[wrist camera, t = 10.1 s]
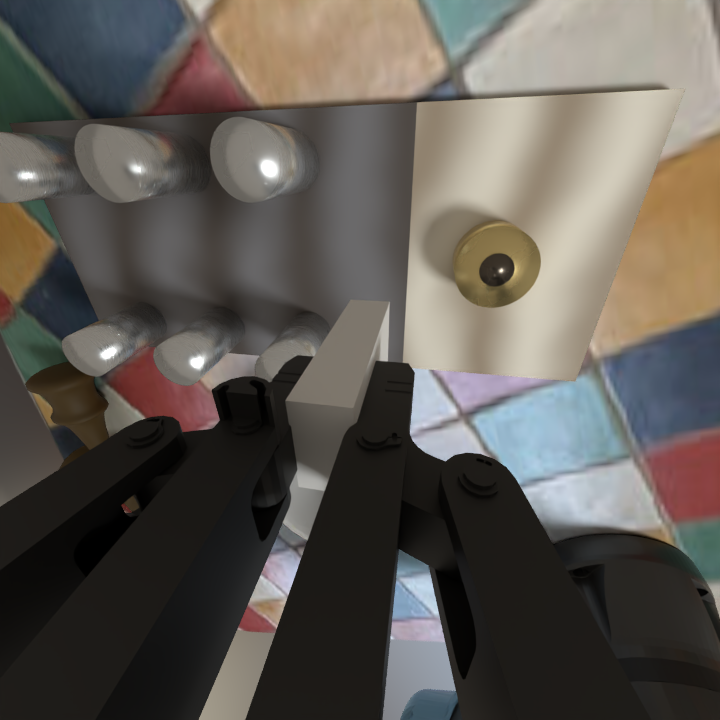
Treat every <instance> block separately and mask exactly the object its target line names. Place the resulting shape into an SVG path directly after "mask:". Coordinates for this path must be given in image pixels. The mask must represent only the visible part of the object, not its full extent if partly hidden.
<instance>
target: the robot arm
mask: <svg viewBox="0 0 720 720" xmlns="http://www.w3.org/2000/svg"><path fill="white" fill-rule="evenodd" d="M389 306H390V302H388V301H368V300H350V302H349V303H348V305H347V306H346V308H345V309H344V311H343V312H342V314H341V315H340V317H339V319H338V320H337V322H336V323H335V325H334V326H333V328H332V329H331V331H330V332H329V334H328V335H327V337H326V339H325V340H324V342H323V343H322V345H321V346H320V348H319V349H318V351H317V352H316V354H315V356H302V355H297V356H295V357H294V358H292V359H290V360H289V361H287V362H285V364H284V365H283V366H282V367H281V369H280V370H279V371H278V374H276V375H275V376H274V378H273V379H272V382H268V381H267V380H265V379H263V378H259V377H255V376H252V377H239V378H235V379H231V380H228V381H226V382H223V383H221V384H219V385H218V386H217V387H215V388H214V389H212V394H213V397H214V401H215V404H216V408H217V411H218V415H219V418H220V421H219V422H218V424H217V425H216V426H215V427H214V428H213V429H208V430H199V431H190V432H182V429H181V426H180V424H179V421H177V420H176V419H174V418H173V417H167V416H157V417H150V418H147V419H143V420H140V421H137V422H136V423H134V424H132V425H130V426H128V427H126V428H124V429H123V430H121V431H119V432H118V433H116V434H115V435H113V436H111V437H110V438H108V439H107V440H105V441H104V442H102V443H100V444H99V445H97V446H96V447H94V448H92V449H91V450H89V451H88V452H86V453H85V454H83V455H81V456H80V457H78V458H77V459H75V460H73V461H72V462H70V463H69V464H67V465H66V466H64V467H62V468H61V469H59V470H58V471H56V472H54V473H53V474H52V475H50V476H48V477H47V478H45V479H43V480H42V481H40V482H39V483H37V484H35V485H34V486H32V487H31V488H29V489H28V490H26V491H24V492H23V493H21V494H20V495H18V496H16V497H15V498H13V499H12V500H10V501H9V502H7V503H5V504H4V505H2V506H1V507H0V720H199V717H200V715H201V713H202V710H203V708H204V706H205V703H206V701H207V699H208V696H209V694H210V691H211V689H212V687H213V685H214V682H215V680H216V677H217V675H218V673H219V671H220V668H221V666H222V663H223V661H224V659H225V656H226V654H227V652H228V649H229V647H230V645H231V642H232V640H233V638H234V635H235V633H236V631H237V628H238V626H239V624H240V621H241V619H242V617H243V614H244V612H245V610H246V607H247V605H248V603H249V600H250V598H251V596H252V593H253V591H254V589H255V586H256V584H257V582H258V579H259V577H260V575H261V572H262V570H263V568H264V565H265V563H266V561H267V558H268V556H269V554H270V551H271V549H272V547H273V544H274V542H275V540H276V537H277V535H278V533H279V530H280V528H281V526H282V523H283V521H284V519H285V516H286V514H287V512H288V509H289V507H290V503H291V492H290V485H291V483H292V481H293V479H294V476H295V474H296V473H297V479H298V486H299V487H302V488H309V489H315V490H321V491H324V494H323V497H322V500H321V503H320V506H319V509H318V512H317V515H316V517H315V520H314V523H313V526H312V529H311V532H310V535H309V538H308V541H307V543H306V546H305V549H304V552H303V555H302V558H301V561H300V564H299V567H298V569H297V572H296V575H295V578H294V581H293V584H292V587H291V590H290V593H289V595H288V598H287V601H286V604H285V607H284V610H283V613H282V616H281V619H280V621H279V624H278V627H277V630H276V633H275V636H274V639H273V642H272V645H271V647H270V650H269V653H268V656H267V659H266V662H265V665H264V668H263V671H262V674H261V676H260V679H259V682H258V685H257V688H256V691H255V694H254V697H253V699H252V702H251V705H250V708H249V711H248V714H247V717H246V720H382V717H383V707H384V697H385V686H386V676H387V666H388V656H389V644H390V635H391V625H392V615H393V604H394V594H395V584H396V573H397V563H398V553H399V549H400V550H402V551H404V552H405V553H407V554H409V555H411V556H413V557H414V558H416V559H418V560H420V561H422V562H424V563H425V564H427V565H429V569H430V574H431V578H432V583H433V588H434V592H435V597H436V601H437V606H438V610H439V615H440V620H441V624H442V629H443V633H444V638H445V643H446V647H447V651H448V656H449V661H450V665H451V669H452V674H453V679H454V684H455V688H456V691H447V690H446V691H445V690H432V689H423V690H421V691H418V692H417V693H415V694H414V695H413V696H412V697H411V698H410V700H409V701H408V703H407V705H406V707H405V709H404V711H403V713H402V716H401V719H400V720H720V618H719V614H718V611H717V608H716V605H715V600H714V597H713V594H712V592H711V589H710V588H709V586H708V584H707V583H706V581H705V579H704V578H703V576H702V575H701V573H700V572H699V570H698V569H697V567H696V566H695V564H694V563H693V561H692V560H691V559H690V558H689V557H688V556H686V555H685V554H684V553H682V552H681V551H679V550H677V549H675V548H674V547H671V546H669V545H667V544H664V543H661V542H658V541H655V540H651V539H647V538H642V537H636V536H628V535H593V536H585V537H579V538H574V539H570V540H566V541H563V542H560V543H557V544H555V545H553V544H552V542H551V541H550V539H549V537H548V535H547V533H546V532H545V530H544V528H543V526H542V525H541V523H540V521H539V519H538V518H537V516H536V514H535V512H534V510H533V509H532V507H531V505H530V503H529V502H528V500H527V498H526V496H525V494H524V493H523V491H522V489H521V487H520V486H519V484H518V482H517V480H516V478H515V477H514V476H513V475H512V474H511V472H510V471H509V470H508V469H507V467H505V466H504V465H502V464H501V463H499V462H498V461H496V460H495V459H493V458H490V457H487V456H484V455H482V454H474V453H463V454H458V455H454V456H453V457H451V458H450V459H448V460H447V461H446V462H445V461H443V460H440V459H438V458H435V457H433V456H431V455H429V454H427V453H425V452H424V451H422V450H421V449H420V448H418V447H417V446H416V444H415V443H414V442H413V441H412V439H411V436H410V423H411V413H412V400H413V387H414V374H415V373H414V371H413V369H412V368H411V366H410V365H409V363H400V362H388V339H389ZM132 496H134V498H135V500H136V502H137V504H138V506H139V508H138V509H136V510H135V511H133V512H131V513H125V512H124V510H123V508H122V506H121V505H122V504H123V503H124V502H126V501H127V500H128V499H129V498H131V497H132Z"/></svg>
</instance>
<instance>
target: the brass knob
mask: <svg viewBox="0 0 720 720" xmlns="http://www.w3.org/2000/svg"><path fill="white" fill-rule="evenodd" d="M540 267H541V256H540V252H539V249H538V247H537V245H536V243H535V242H534V240H533V239H532V238H531V237H530V236H529V235H527V234H526V233H525V232H524V231H522V230H521V229H520V228H518V227H517V226H516V225H514V224H512V223H509V222H506V221H501V220H492V221H487V222H483V223H481V224H478V225H476V226H475V227H473V228H471V229H470V230H469V231H468V232H467V233H465V234H464V236H463V237H462V238H461V239H460V241H459V242H458V244H457V246H456V248H455V251H454V255H453V270H454V275H455V281H456V284H457V287H458V289H459V291H460V293H461V294H462V295H463V296H464V297H465V298H466V299H467V300H468V301H469V302H471V303H473V304H475V305H478V306H481V307H487V308H496V307H502V306H506V305H509V304H511V303H513V302H515V301H517V300H519V299H520V298H521V297H523V296H524V295H525V294H526V293H527V292H528V291H529V290H530V289H531V288H532V286H533V285H534V283H535V281H536V280H537V277H538V275H539V272H540Z"/></svg>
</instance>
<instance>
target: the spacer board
mask: <svg viewBox="0 0 720 720" xmlns="http://www.w3.org/2000/svg"><path fill="white" fill-rule="evenodd" d="M684 91H685V89H668V90H648V91H629V92H609V93H590V94H570V95H551V96H531V97H512V98H493V99H473V100H454V101H434V102H415V103H395V104H376V105H356V106H337V107H317V108H298V109H278V110H259V111H239V112H220V113H200V114H181V115H161V116H142V117H122V118H103V119H84V120H64V121H45V122H25V123H9V124H10V126H11V128H12V130H13V133H24V134H39V135H53V136H68V137H76V136H77V133H78V132H79V130H80V129H81V128H82V127H84V126H85V125H88V124H101V125H110V126H119V127H128V128H137V129H146V130H155V131H164V132H173V133H182V134H186V135H189V136H191V137H192V138H194V139H195V140H196V141H198V142H199V144H200V145H201V146H202V147H203V149H204V150H205V152H206V154H207V156H208V159H209V162H210V167H211V177H210V181H209V183H208V185H207V187H206V188H205V189H204V190H203V191H201V192H198V193H192V194H185V195H177V196H170V197H162V198H154V199H147V200H139V201H132V202H124V203H116V202H112V201H109V200H107V199H105V198H104V197H102V196H101V195H99V194H94V195H84V196H74V197H63V198H53V199H44V201H45V203H46V205H47V207H48V210H49V212H50V214H51V216H52V218H53V221H54V223H55V225H56V227H57V229H58V232H59V234H60V236H61V238H62V240H63V243H64V245H65V247H66V249H67V251H68V254H69V256H70V258H71V260H72V262H73V265H74V267H75V269H76V271H77V273H78V276H79V278H80V280H81V282H82V284H83V287H84V289H85V291H86V293H87V295H88V298H89V300H90V302H91V304H92V306H93V309H94V311H95V313H96V315H97V317H98V320H99V321H100V320H102V319H104V318H106V317H108V316H110V315H112V314H114V313H117V312H119V311H121V310H123V309H125V308H127V307H129V306H131V305H133V304H135V303H138V302H144V303H148V304H150V305H152V306H154V307H155V308H156V309H157V310H159V312H160V313H161V314H162V315H163V317H164V319H165V321H166V324H167V331H166V333H165V335H164V336H162V337H161V338H159V339H158V340H156V341H155V342H153V343H152V344H150V345H148V346H150V347H157V346H158V345H159V344H161V343H162V342H164V341H165V340H167V339H168V338H170V337H171V336H173V335H174V334H176V333H177V332H179V331H180V330H182V329H183V328H185V327H186V326H188V325H189V324H191V323H192V322H194V321H195V320H197V319H198V318H200V317H201V316H203V315H204V314H206V313H207V312H209V311H210V310H212V309H213V308H216V307H226V308H229V309H231V310H233V311H234V312H235V313H237V314H238V315H239V316H240V318H241V319H242V321H243V323H244V325H245V336H244V338H243V339H242V340H241V341H240V342H239V343H238V344H237V345H236V346H235V347H234V348H233V349H232V350H231V351H230V352H228V353H235V354H247V355H259V356H261V354H262V353H263V352H264V351H265V350H266V349H267V348H268V347H269V345H270V344H271V343H272V342H273V341H274V340H275V339H276V338H277V336H278V335H279V334H280V333H281V332H282V331H283V330H284V329H285V328H286V326H287V325H288V324H289V323H290V322H291V321H292V320H293V319H294V317H295V316H296V315H298V314H300V313H302V312H314V313H317V314H319V315H320V316H322V317H323V318H324V319H325V320H326V321H327V322H328V324H329V325H330V328H331V329H332V328H333V326H334V325H335V323H336V322H337V320H338V319H339V317H340V315H341V314H342V312H343V311H344V309H345V308H346V306H347V305H348V303H349V302H350V300H368V301H388V302H390V306H389V339H388V362H400V363H409V365H410V366H411V368H418V369H430V370H442V371H454V372H466V373H479V374H491V375H503V376H515V377H527V378H540V379H552V380H564V381H576V378H577V376H578V373H579V370H580V368H581V365H582V362H583V360H584V357H585V354H586V352H587V349H588V346H589V344H590V341H591V338H592V336H593V333H594V330H595V328H596V325H597V322H598V320H599V317H600V315H601V312H602V309H603V307H604V304H605V301H606V299H607V296H608V293H609V291H610V288H611V285H612V283H613V280H614V277H615V275H616V272H617V269H618V267H619V264H620V261H621V259H622V256H623V253H624V251H625V248H626V245H627V243H628V240H629V238H630V235H631V232H632V230H633V227H634V224H635V222H636V219H637V216H638V214H639V211H640V208H641V206H642V203H643V200H644V198H645V195H646V192H647V190H648V187H649V184H650V182H651V179H652V176H653V174H654V171H655V168H656V166H657V163H658V161H659V158H660V155H661V153H662V150H663V147H664V145H665V142H666V139H667V137H668V134H669V131H670V129H671V126H672V123H673V121H674V118H675V115H676V113H677V110H678V107H679V105H680V102H681V99H682V97H683V94H684ZM232 117H244V118H249V119H253V120H257V121H262V122H266V123H270V124H274V125H279V126H283V127H287V128H292V129H296V130H299V131H301V132H303V133H305V134H306V135H307V136H308V137H309V138H310V139H311V140H312V141H313V143H314V144H315V146H316V148H317V151H318V154H319V160H320V169H319V174H318V177H317V179H316V181H315V182H314V184H313V185H312V186H311V187H310V188H309V189H307V190H305V191H303V192H299V193H294V194H290V195H286V196H281V197H277V198H273V199H268V200H264V201H260V202H254V203H248V202H243V201H240V200H238V199H236V198H234V197H233V196H231V195H230V194H229V193H228V192H227V191H226V190H225V189H224V188H223V187H222V186H221V184H220V183H219V181H218V180H217V178H216V176H215V173H214V171H213V168H212V164H211V159H210V145H211V140H212V137H213V134H214V132H215V130H216V129H217V127H218V126H219V125H220V124H221V123H222V122H223V121H225V120H227V119H229V118H232ZM492 220H501V221H506V222H509V223H512V224H514V225H516V226H517V227H518V228H520V229H521V230H522V231H524V232H525V233H526V234H527V235H529V236H530V237H531V238H532V239H533V240H534V242H535V243H536V245H537V247H538V249H539V252H540V256H541V267H540V272H539V275H538V277H537V280H536V281H535V283H534V285H533V286H532V288H531V289H530V290H529V291H528V292H527V293H526V294H525V295H524V296H523V297H521V298H520V299H519V300H517V301H515V302H513V303H511V304H509V305H506V306H502V307H496V308H487V307H481V306H478V305H475V304H473V303H471V302H469V301H468V300H467V299H466V298H465V297H464V296H463V295H462V294H461V293H460V291H459V289H458V287H457V284H456V281H455V275H454V270H453V255H454V251H455V248H456V246H457V244H458V242H459V241H460V239H461V238H462V237H463V236H464V234H465V233H467V232H468V231H469V230H470V229H471V228H473V227H475V226H476V225H478V224H481V223H483V222H487V221H492Z"/></svg>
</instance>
